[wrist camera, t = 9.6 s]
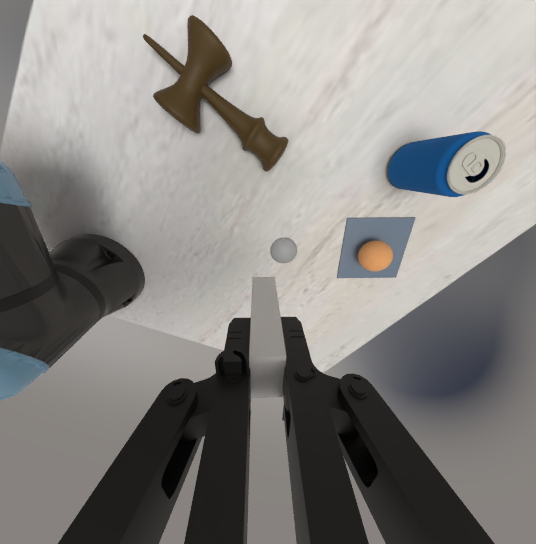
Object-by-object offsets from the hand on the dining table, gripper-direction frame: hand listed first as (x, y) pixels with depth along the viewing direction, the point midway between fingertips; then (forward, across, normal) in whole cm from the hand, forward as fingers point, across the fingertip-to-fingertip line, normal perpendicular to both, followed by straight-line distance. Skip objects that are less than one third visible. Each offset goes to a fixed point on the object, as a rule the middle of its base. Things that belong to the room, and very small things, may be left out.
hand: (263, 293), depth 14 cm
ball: (+20, +20, -6) cm, 29 cm away
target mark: (+23, +22, -6) cm, 32 cm away
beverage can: (+23, +23, +9) cm, 34 cm away
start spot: (+24, +4, -6) cm, 25 cm away
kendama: (+24, -5, +15) cm, 29 cm away
